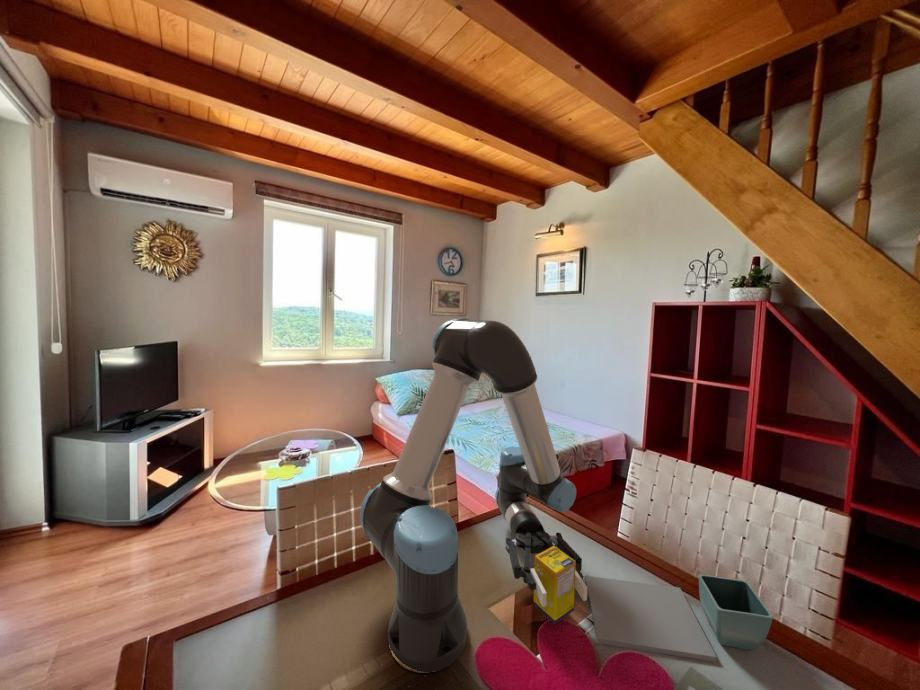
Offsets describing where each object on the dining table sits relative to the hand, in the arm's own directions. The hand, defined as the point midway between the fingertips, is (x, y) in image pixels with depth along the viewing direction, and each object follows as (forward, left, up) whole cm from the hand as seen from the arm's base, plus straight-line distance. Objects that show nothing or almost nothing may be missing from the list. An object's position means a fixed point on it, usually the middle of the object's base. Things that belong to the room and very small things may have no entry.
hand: (565, 596), depth 69 cm
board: (+16, +7, -8) cm, 20 cm away
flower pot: (+31, +5, -8) cm, 33 cm away
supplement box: (-2, +4, -7) cm, 8 cm away
